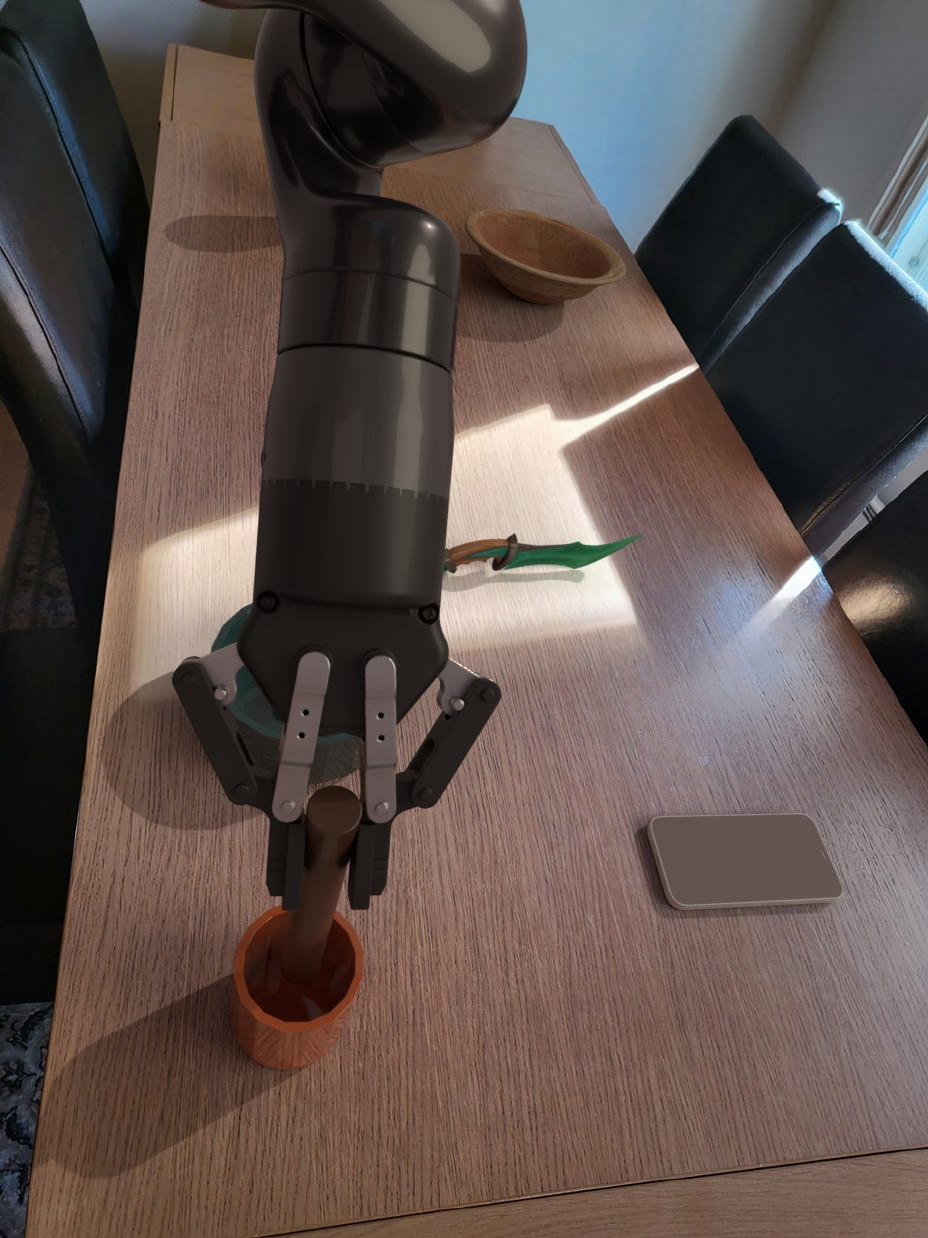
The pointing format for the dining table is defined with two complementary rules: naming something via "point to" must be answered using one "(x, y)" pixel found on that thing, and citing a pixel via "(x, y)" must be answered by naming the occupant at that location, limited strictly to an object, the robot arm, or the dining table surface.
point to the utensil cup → (292, 994)
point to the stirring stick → (320, 879)
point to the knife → (528, 553)
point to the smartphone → (742, 860)
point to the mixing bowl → (279, 721)
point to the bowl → (542, 255)
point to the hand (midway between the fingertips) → (325, 901)
